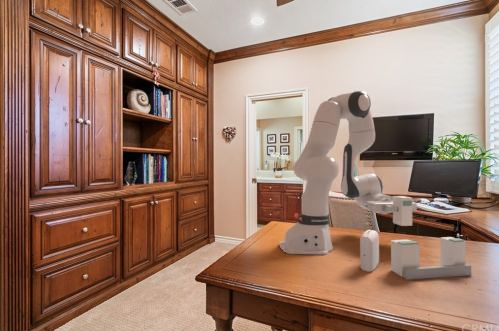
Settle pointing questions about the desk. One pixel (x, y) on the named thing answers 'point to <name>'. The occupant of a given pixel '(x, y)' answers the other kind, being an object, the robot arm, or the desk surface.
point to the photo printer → (369, 250)
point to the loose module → (402, 210)
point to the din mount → (408, 266)
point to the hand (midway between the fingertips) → (404, 209)
